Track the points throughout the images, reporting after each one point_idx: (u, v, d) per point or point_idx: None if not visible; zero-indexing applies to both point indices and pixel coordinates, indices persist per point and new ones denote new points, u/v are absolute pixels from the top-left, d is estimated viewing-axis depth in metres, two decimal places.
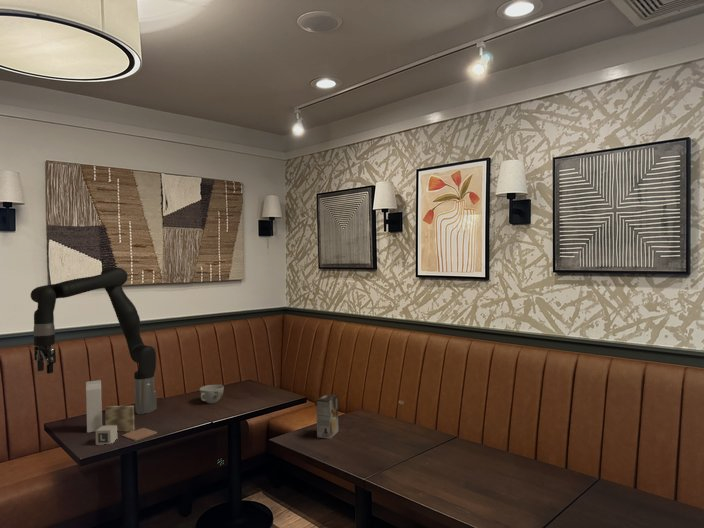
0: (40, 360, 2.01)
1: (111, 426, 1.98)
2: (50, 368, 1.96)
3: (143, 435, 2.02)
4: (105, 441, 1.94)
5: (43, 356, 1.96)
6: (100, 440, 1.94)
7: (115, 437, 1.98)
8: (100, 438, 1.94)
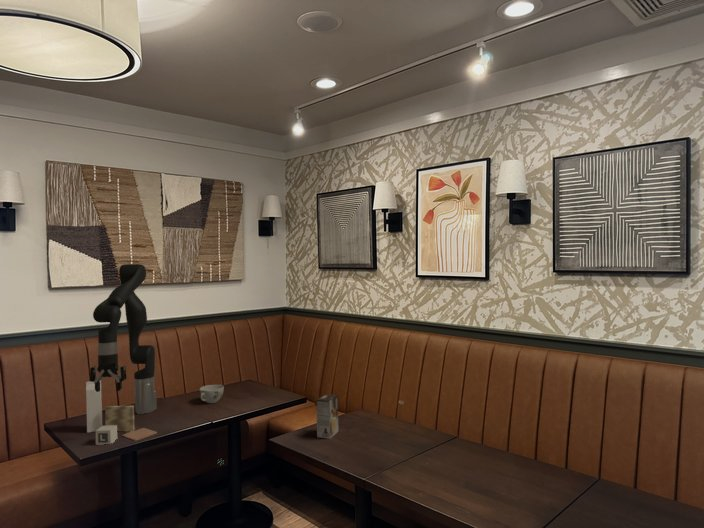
0: None
1: (111, 426, 1.98)
2: None
3: (143, 435, 2.02)
4: (105, 441, 1.94)
5: None
6: (100, 440, 1.94)
7: (115, 437, 1.98)
8: (100, 438, 1.94)
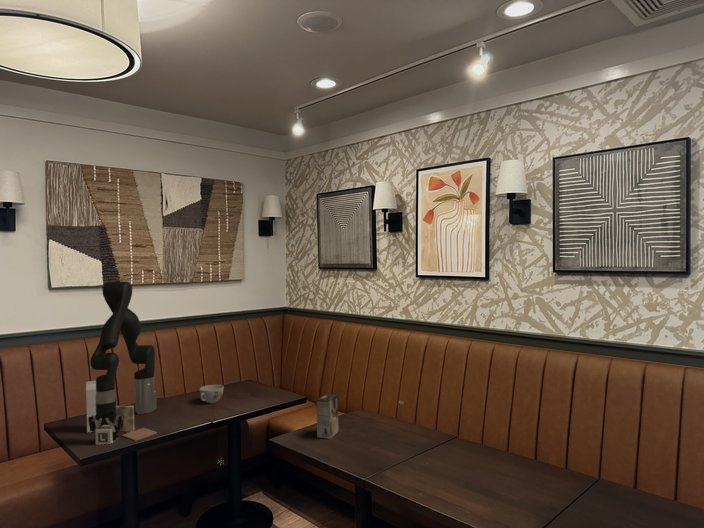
0: None
1: None
2: None
3: (143, 435, 2.02)
4: (105, 441, 1.94)
5: None
6: (100, 439, 1.94)
7: None
8: (100, 437, 1.94)
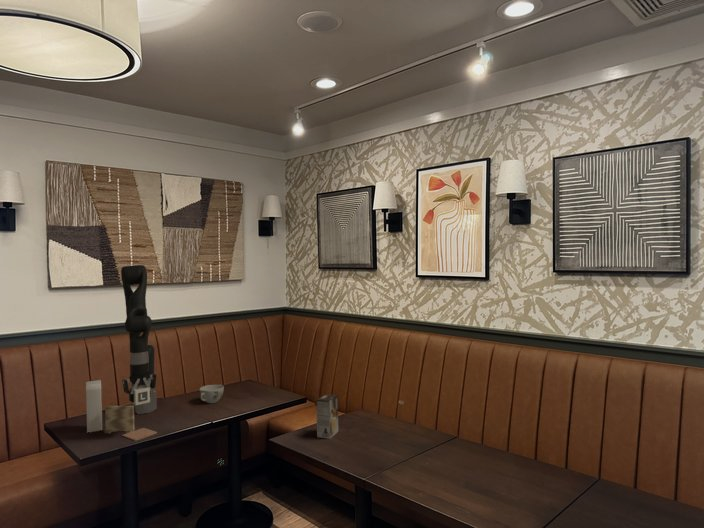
0: None
1: (141, 387, 2.06)
2: (129, 397, 2.01)
3: (143, 435, 2.02)
4: (145, 399, 2.02)
5: None
6: (140, 399, 2.01)
7: None
8: (141, 397, 2.01)
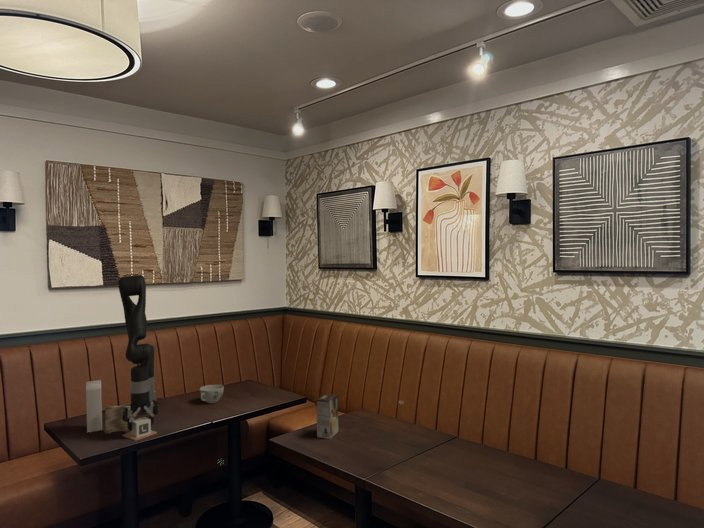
0: (150, 414, 2.07)
1: (142, 418, 2.06)
2: (127, 425, 2.00)
3: None
4: (146, 431, 2.02)
5: None
6: (141, 431, 2.01)
7: None
8: (142, 429, 2.01)
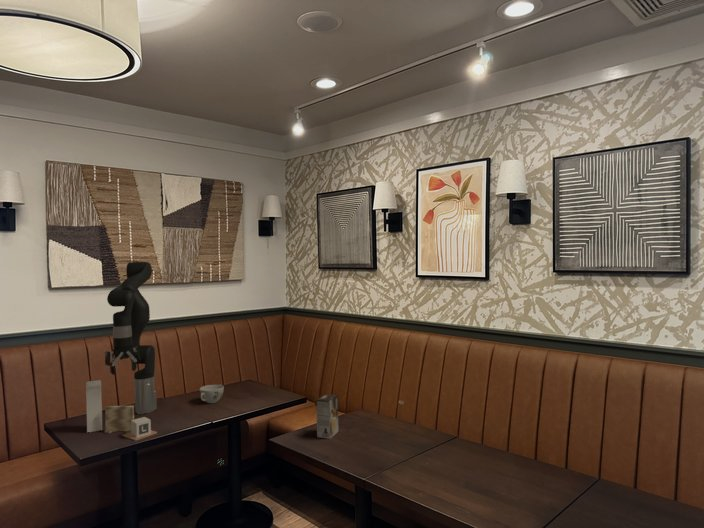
0: (133, 360, 2.09)
1: (142, 418, 2.06)
2: (110, 369, 2.02)
3: None
4: (146, 431, 2.02)
5: None
6: (141, 431, 2.01)
7: None
8: (142, 429, 2.01)
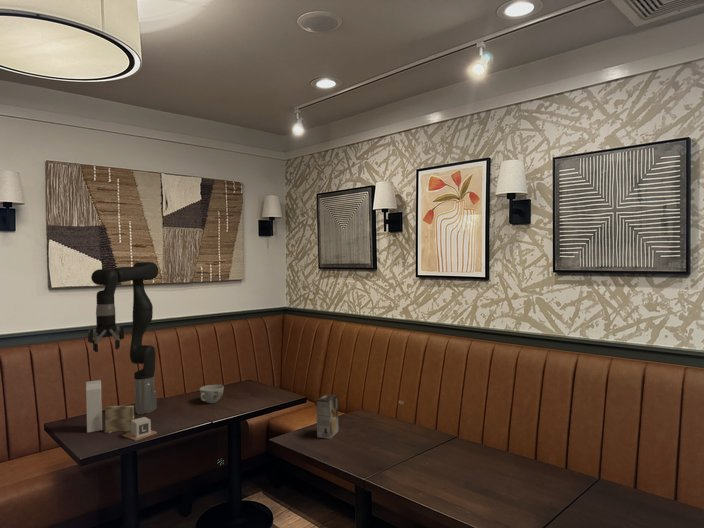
0: (116, 339, 2.12)
1: (142, 418, 2.06)
2: (93, 347, 2.05)
3: None
4: (146, 431, 2.02)
5: None
6: (141, 431, 2.01)
7: None
8: (142, 429, 2.01)
